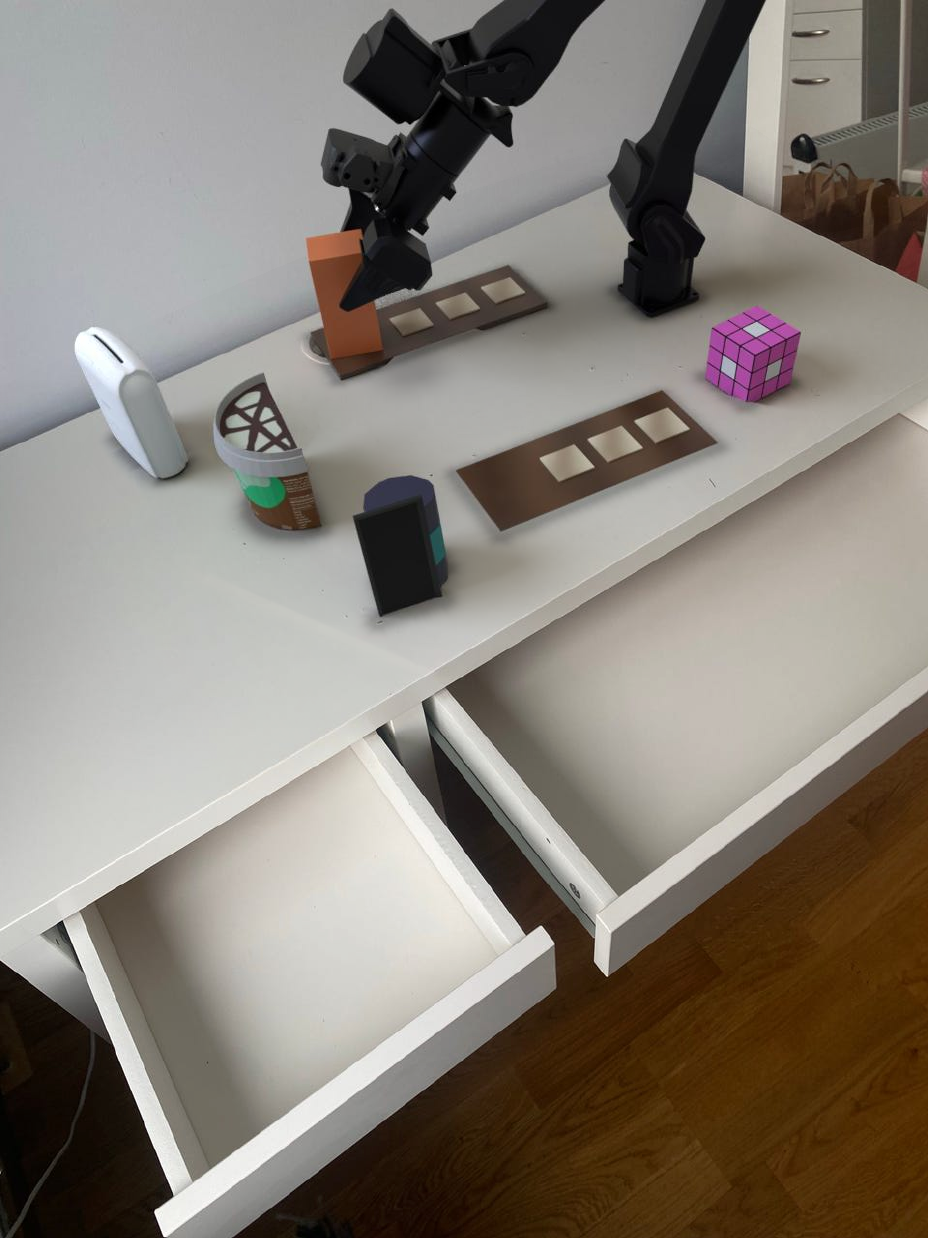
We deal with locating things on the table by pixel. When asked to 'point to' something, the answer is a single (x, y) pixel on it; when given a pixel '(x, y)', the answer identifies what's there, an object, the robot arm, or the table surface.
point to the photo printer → (131, 401)
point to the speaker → (402, 542)
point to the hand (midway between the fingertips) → (338, 283)
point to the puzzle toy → (752, 354)
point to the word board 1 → (441, 317)
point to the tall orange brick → (341, 294)
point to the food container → (265, 457)
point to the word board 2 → (583, 459)
